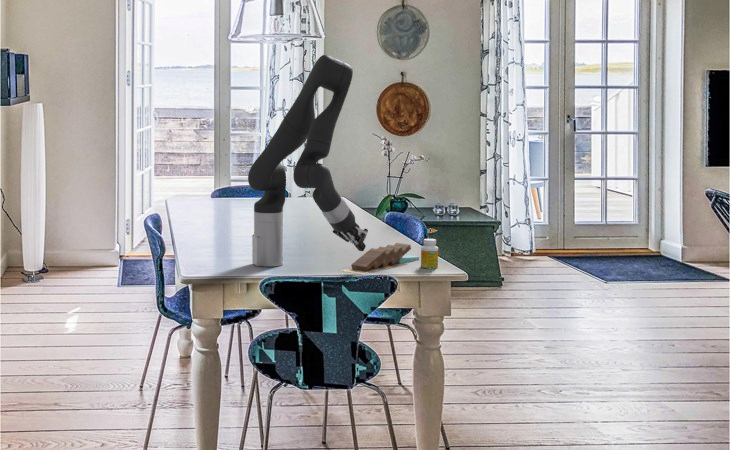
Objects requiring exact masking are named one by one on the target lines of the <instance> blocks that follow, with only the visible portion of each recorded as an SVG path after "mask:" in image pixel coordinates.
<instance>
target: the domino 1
mask: <svg viewBox="0 0 730 450" xmlns="http://www.w3.org/2000/svg"><path fill="white" fill-rule="evenodd" d="M386 255H387V254H386V250H381V249H378V248H370V249H369V250H367V251H366V252H365V253H364V254H362V255H361V256H360V257H359V258H358V259H356V260H355V261H354V262H353V263H352V264H351V268H352V269H354V270H360V271H366V272H367V271H368V270H369V269H370V268H371V267H372V266H374V265H375V264H376V263H377V262H378V261H380V260H381V259H382V258H383V257H384V256H386Z"/></svg>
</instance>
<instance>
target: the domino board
mask: <svg viewBox="0 0 730 450" xmlns="http://www.w3.org/2000/svg"><path fill="white" fill-rule="evenodd" d="M404 265H406V263H400V264H399V263H395V264H393V265H388V264H387V265H386V266H385V267H384V268H383V267H378V268H376V269H369V270H368V271H367V272H366V271H360V270H354V269H352V267H349V268H344V269H340V270H338V271H339V272H345V273H349V274H355V275H366V274H370V273H373V272H378V271H384V270H387V269H392V268H396V267H401V266H404Z"/></svg>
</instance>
